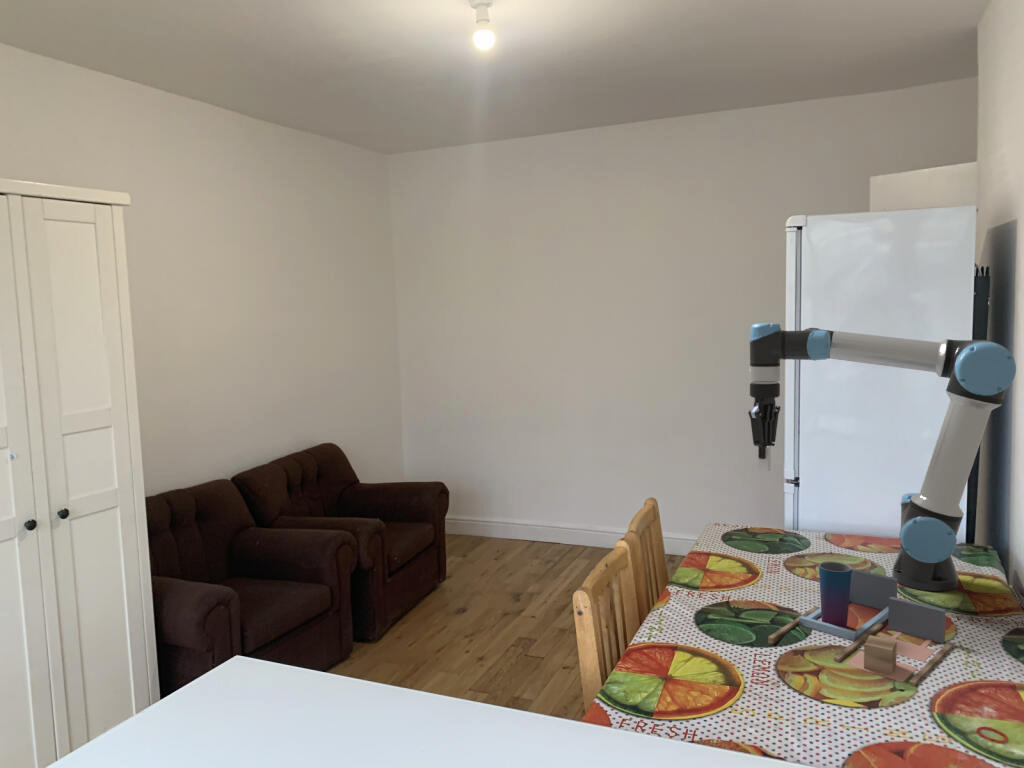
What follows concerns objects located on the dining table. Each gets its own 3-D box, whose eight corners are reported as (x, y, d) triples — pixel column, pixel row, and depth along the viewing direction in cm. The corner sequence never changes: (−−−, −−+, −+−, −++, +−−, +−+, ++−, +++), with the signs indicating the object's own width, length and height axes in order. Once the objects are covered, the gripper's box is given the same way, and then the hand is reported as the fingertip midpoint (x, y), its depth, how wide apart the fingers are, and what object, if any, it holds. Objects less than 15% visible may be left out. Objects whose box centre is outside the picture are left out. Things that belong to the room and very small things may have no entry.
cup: (854, 638, 167) (855, 572, 166) (821, 636, 168) (822, 571, 167) (846, 625, 174) (847, 561, 172) (815, 624, 175) (815, 560, 174)
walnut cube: (869, 658, 156) (869, 635, 155) (896, 664, 153) (896, 640, 152) (863, 668, 152) (864, 644, 151) (891, 674, 149) (892, 650, 148)
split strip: (890, 631, 170) (891, 596, 170) (944, 645, 162) (945, 609, 162) (844, 668, 154) (845, 630, 153) (902, 687, 146) (903, 647, 145)
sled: (844, 597, 189) (844, 566, 188) (896, 611, 180) (897, 578, 180) (799, 628, 173) (799, 594, 172) (854, 644, 164) (855, 608, 163)
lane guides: (815, 612, 181) (815, 606, 181) (953, 650, 160) (953, 643, 160) (768, 643, 166) (768, 636, 166) (914, 690, 144) (914, 682, 144)
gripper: (763, 379, 207) (763, 464, 210) (739, 383, 198) (738, 472, 201) (790, 380, 202) (789, 468, 204) (765, 385, 193) (765, 476, 195)
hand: (764, 470), depth 202 cm, fingers closed
